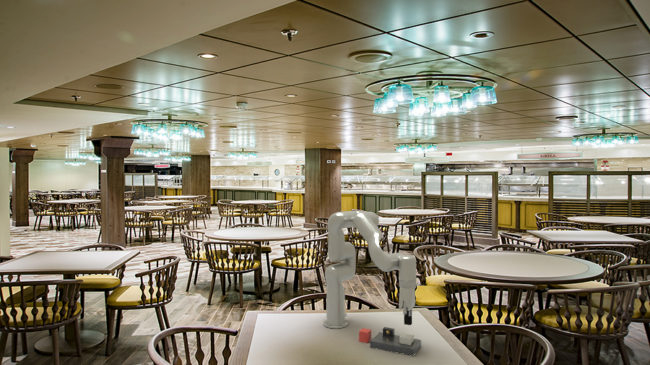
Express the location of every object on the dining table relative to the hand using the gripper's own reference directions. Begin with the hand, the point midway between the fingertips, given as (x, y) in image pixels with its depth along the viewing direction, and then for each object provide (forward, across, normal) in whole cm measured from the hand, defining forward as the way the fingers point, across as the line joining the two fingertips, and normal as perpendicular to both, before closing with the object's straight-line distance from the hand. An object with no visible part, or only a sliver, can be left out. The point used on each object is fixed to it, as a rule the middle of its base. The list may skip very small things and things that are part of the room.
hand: (408, 324), depth 190 cm
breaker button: (+8, 0, -1) cm, 8 cm away
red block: (+11, 0, -21) cm, 24 cm away
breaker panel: (+11, 0, -6) cm, 13 cm away
